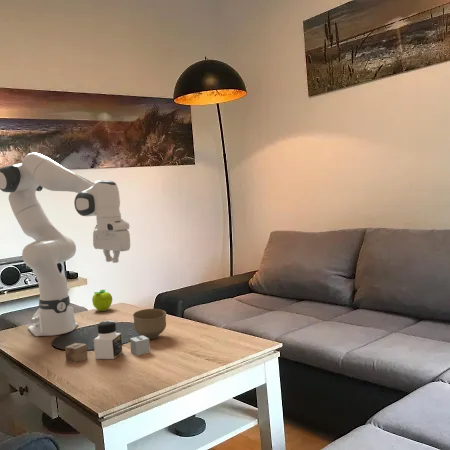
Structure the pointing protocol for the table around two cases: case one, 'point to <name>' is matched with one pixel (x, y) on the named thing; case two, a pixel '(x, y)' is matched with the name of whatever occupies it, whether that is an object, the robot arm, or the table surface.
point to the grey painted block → (139, 345)
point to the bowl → (150, 322)
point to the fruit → (102, 300)
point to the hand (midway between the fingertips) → (112, 262)
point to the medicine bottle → (107, 341)
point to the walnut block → (76, 352)
